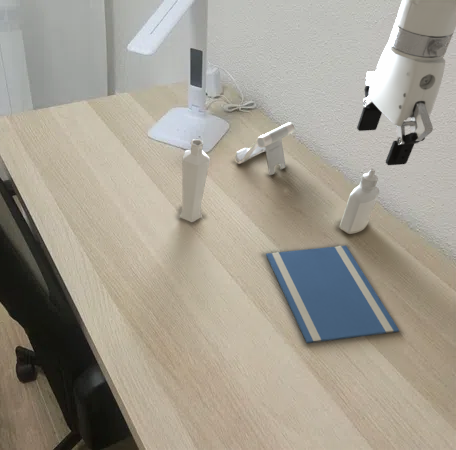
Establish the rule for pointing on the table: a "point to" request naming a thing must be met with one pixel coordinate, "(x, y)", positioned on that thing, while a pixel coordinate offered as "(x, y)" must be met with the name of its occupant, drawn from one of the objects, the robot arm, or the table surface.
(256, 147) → the tablet stand
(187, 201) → the perfume bottle
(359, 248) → the table surface
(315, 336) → the towel
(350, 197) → the eye dropper bottle
